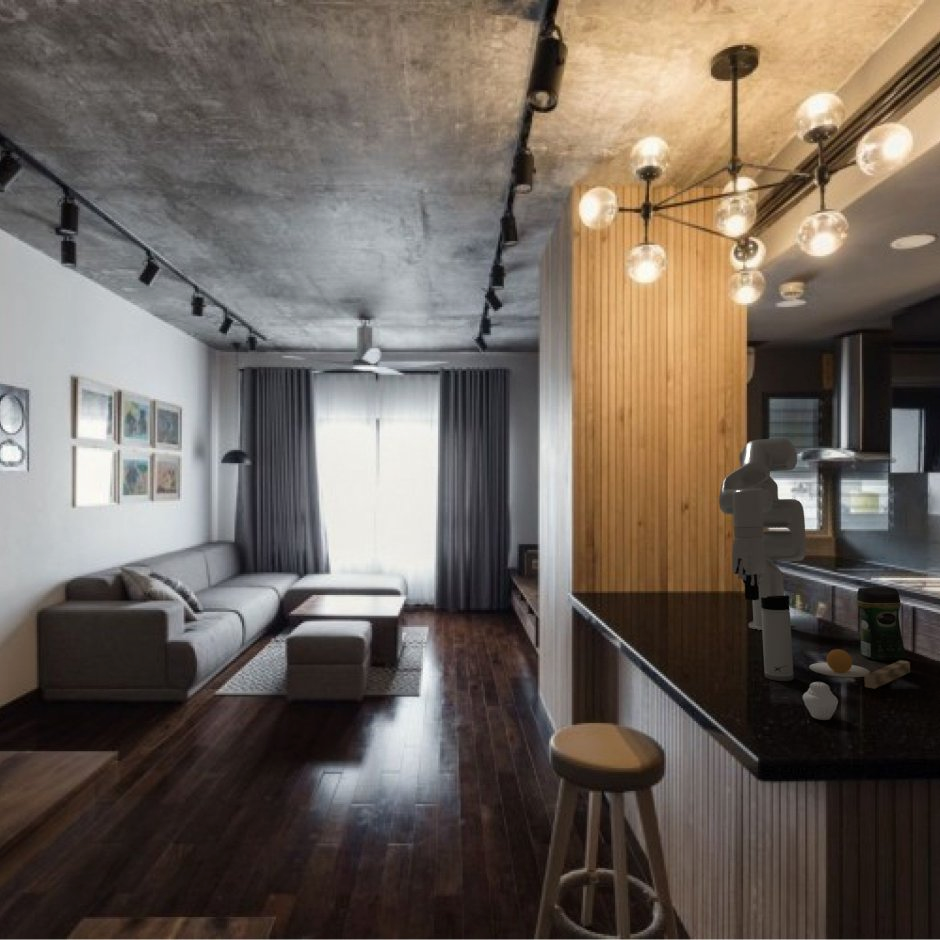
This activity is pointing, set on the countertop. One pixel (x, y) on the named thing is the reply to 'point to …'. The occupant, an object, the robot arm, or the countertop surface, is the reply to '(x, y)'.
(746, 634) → the countertop surface
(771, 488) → the robot arm
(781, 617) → the travel mug
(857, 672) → the disc
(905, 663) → the stopper strip
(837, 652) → the ball
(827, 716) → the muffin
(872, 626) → the coffee jar
